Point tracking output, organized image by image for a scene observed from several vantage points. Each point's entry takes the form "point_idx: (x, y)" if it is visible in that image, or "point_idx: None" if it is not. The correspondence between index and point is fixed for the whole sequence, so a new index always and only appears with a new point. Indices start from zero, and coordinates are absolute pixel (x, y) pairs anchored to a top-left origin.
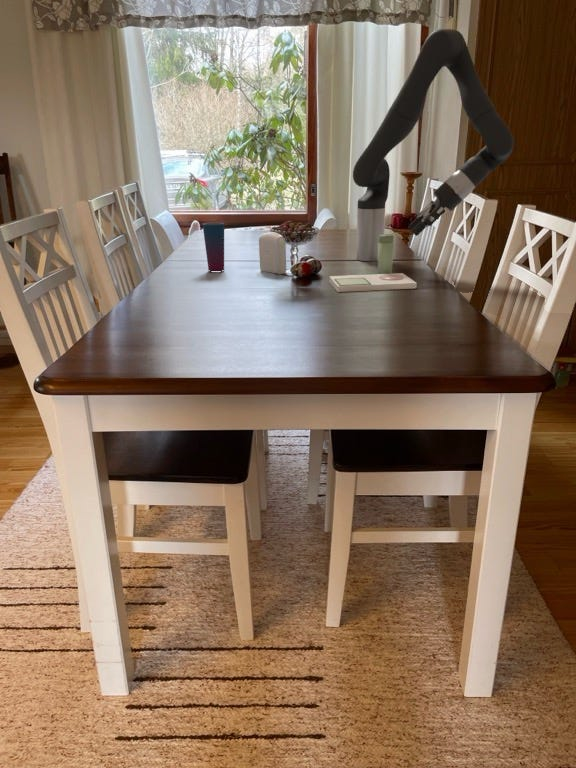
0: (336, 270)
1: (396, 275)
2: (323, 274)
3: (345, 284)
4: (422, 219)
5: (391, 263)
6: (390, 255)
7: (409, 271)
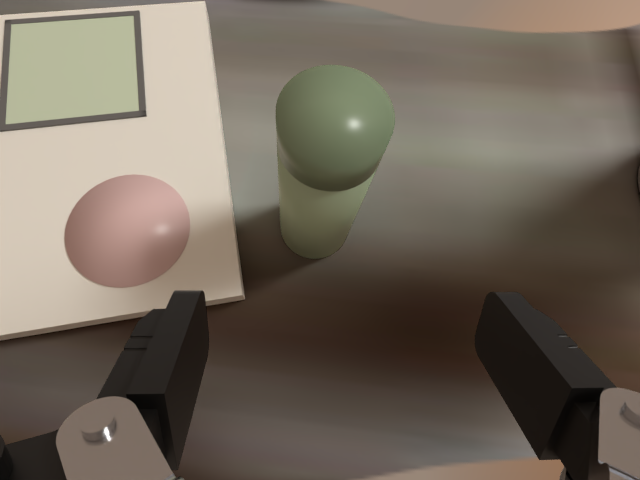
0: (423, 54)
1: (176, 257)
2: (342, 9)
3: (19, 40)
4: (85, 417)
5: (294, 231)
6: (286, 206)
7: (417, 356)
